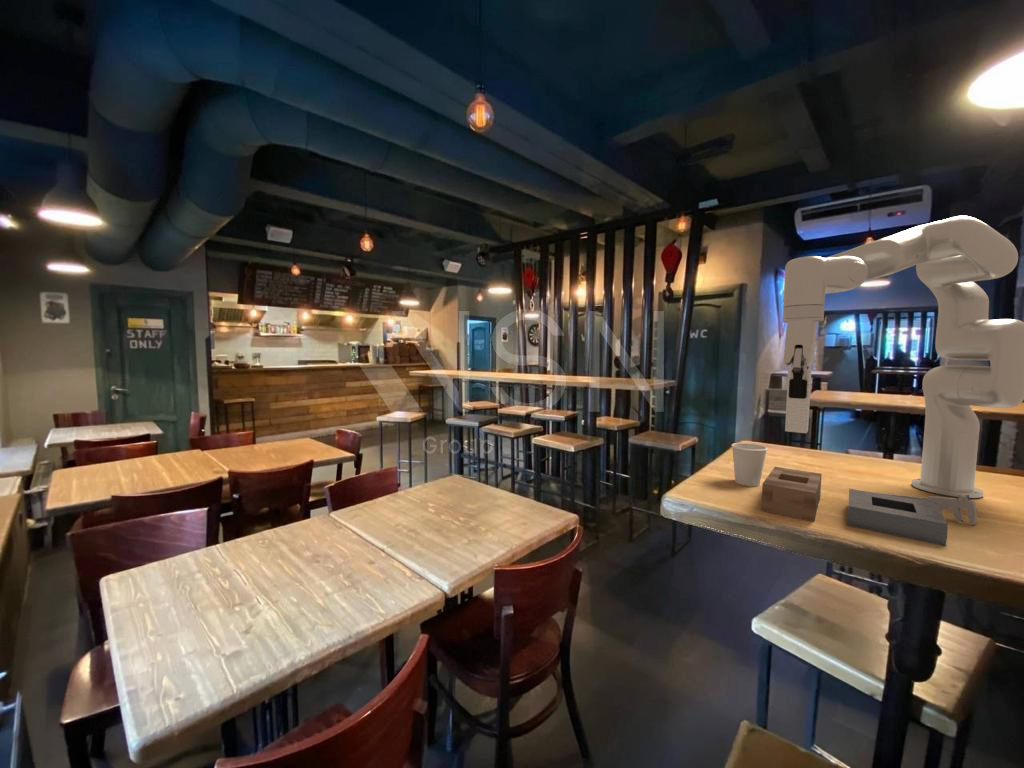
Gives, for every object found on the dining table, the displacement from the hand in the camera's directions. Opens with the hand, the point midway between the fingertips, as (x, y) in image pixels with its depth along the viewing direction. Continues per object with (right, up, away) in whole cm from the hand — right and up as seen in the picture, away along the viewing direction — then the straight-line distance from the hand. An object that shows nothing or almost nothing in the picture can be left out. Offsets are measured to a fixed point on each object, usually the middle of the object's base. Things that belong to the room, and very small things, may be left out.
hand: (798, 396), depth 95 cm
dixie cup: (-2, -24, +17) cm, 29 cm away
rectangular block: (0, -8, +1) cm, 8 cm away
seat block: (+13, -26, -9) cm, 30 cm away
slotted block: (0, -25, +2) cm, 25 cm away
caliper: (+25, -25, 0) cm, 36 cm away
